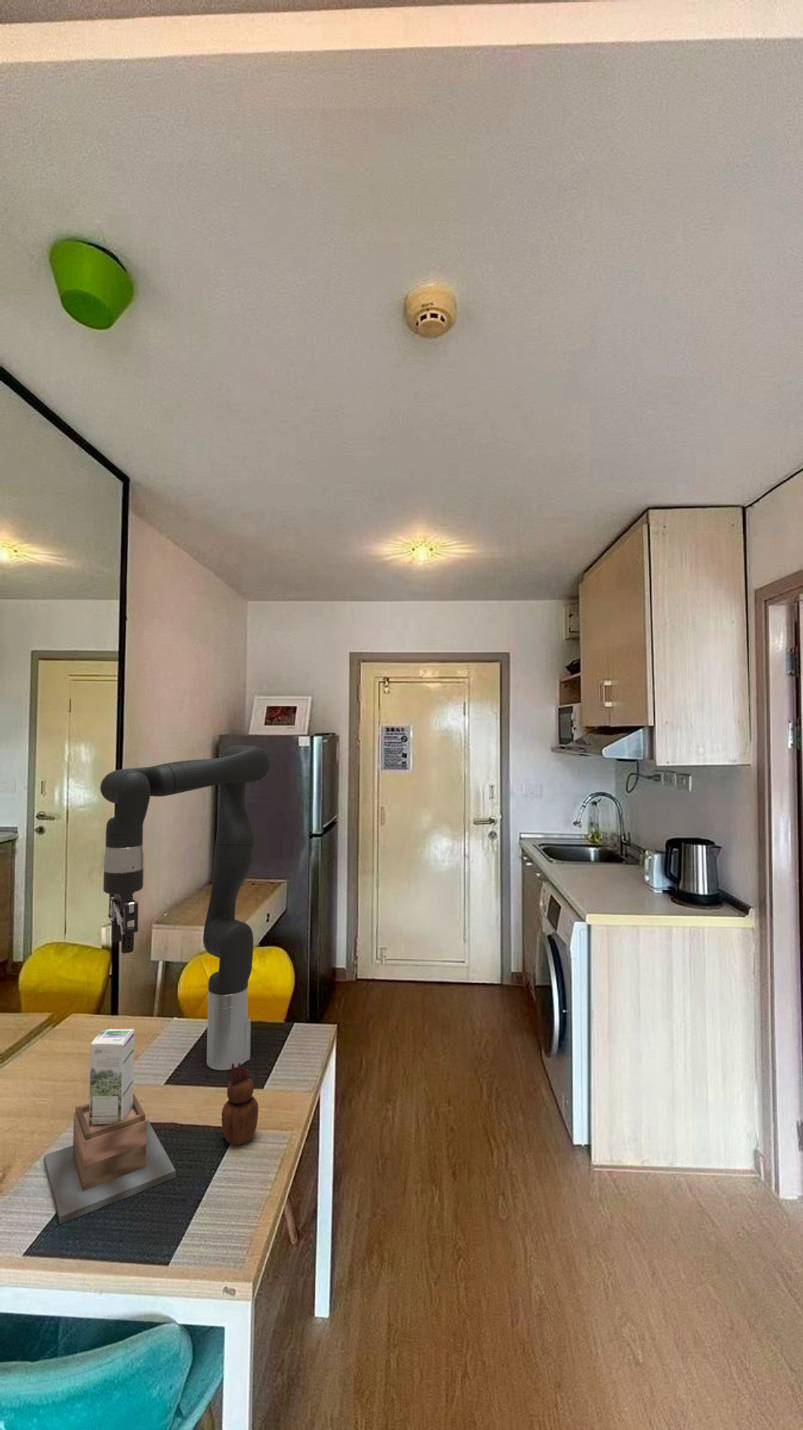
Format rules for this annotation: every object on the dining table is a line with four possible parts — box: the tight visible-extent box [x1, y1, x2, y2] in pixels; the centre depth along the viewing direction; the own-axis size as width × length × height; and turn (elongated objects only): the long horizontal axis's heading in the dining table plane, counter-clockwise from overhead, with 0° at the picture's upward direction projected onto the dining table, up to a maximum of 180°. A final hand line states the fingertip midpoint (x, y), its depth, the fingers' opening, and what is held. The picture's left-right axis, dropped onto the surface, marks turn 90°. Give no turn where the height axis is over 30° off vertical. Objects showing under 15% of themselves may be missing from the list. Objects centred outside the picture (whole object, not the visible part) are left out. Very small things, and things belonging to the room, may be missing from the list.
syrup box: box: [88, 1028, 135, 1126], centre depth 112 cm, size 6×6×14 cm
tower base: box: [43, 1092, 177, 1225], centre depth 112 cm, size 18×18×10 cm
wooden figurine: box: [221, 1063, 259, 1146], centre depth 120 cm, size 7×6×15 cm
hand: (122, 946), depth 128 cm, fingers open, 8 cm apart
